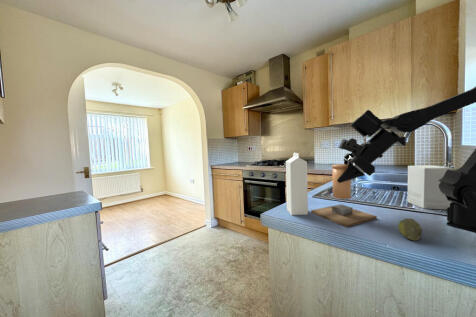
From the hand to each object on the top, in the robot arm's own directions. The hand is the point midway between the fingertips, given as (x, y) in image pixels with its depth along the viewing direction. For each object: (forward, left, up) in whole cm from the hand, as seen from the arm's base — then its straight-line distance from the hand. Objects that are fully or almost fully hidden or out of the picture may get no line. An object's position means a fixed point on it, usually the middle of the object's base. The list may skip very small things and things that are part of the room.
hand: (337, 180), depth 64 cm
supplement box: (-9, -37, -12) cm, 40 cm away
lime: (-19, -2, -12) cm, 23 cm away
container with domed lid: (-1, -1, -6) cm, 6 cm away
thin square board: (-1, -1, -12) cm, 12 cm away
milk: (+9, +10, -12) cm, 18 cm away
